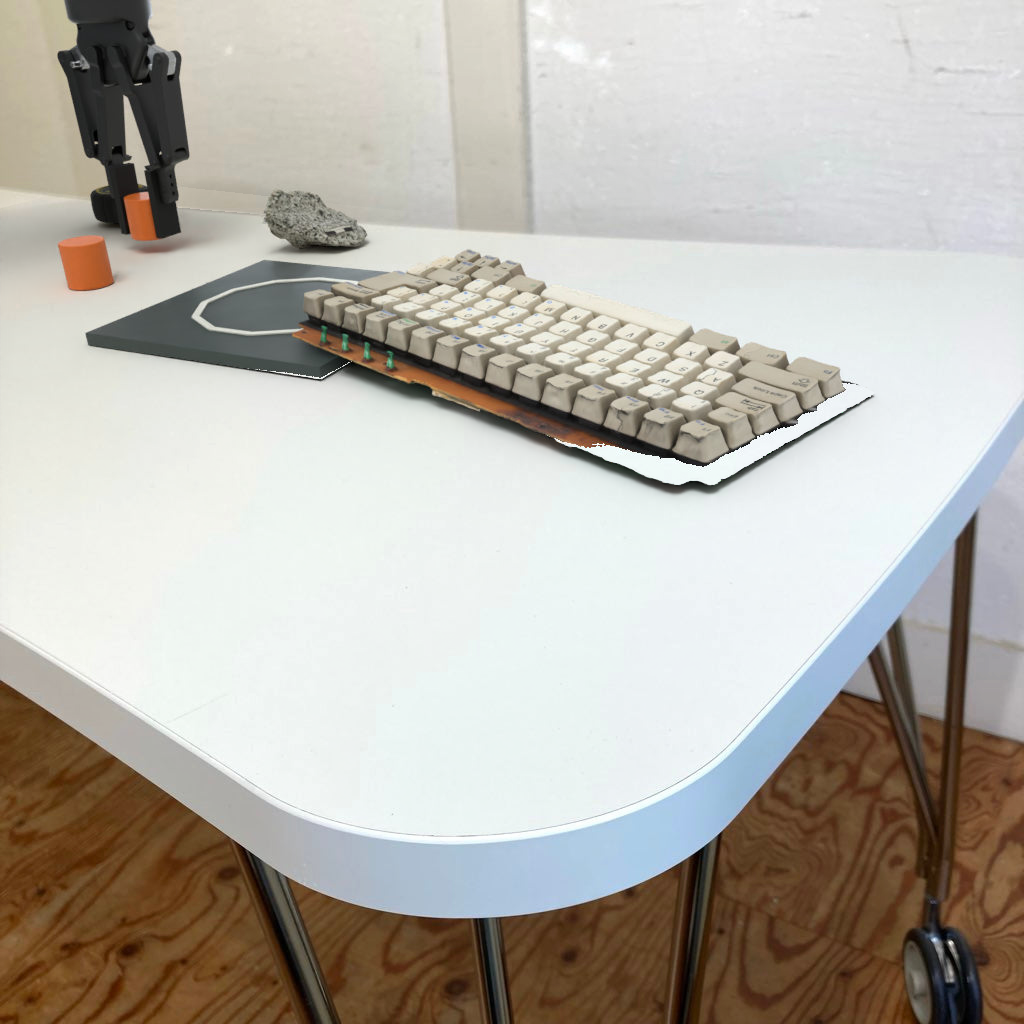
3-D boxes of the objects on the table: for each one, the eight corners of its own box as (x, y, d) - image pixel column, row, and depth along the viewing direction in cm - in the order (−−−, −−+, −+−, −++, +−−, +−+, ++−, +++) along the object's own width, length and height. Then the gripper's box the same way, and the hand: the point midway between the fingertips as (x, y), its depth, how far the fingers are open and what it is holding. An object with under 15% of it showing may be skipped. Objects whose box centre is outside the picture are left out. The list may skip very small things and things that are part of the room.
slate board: (87, 345, 82) (84, 331, 82) (265, 270, 99) (263, 258, 99) (321, 380, 73) (319, 365, 73) (472, 291, 90) (471, 278, 90)
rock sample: (344, 219, 99) (297, 149, 101) (288, 273, 101) (243, 204, 103) (398, 242, 108) (354, 178, 110) (346, 291, 111) (304, 227, 113)
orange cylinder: (58, 288, 97) (47, 244, 95) (91, 276, 100) (81, 234, 98) (90, 292, 95) (80, 247, 93) (123, 280, 98) (113, 237, 96)
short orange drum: (122, 239, 107) (114, 198, 105) (151, 229, 110) (143, 190, 108) (153, 242, 105) (145, 201, 103) (180, 233, 108) (173, 193, 106)
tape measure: (130, 231, 116) (122, 196, 114) (82, 227, 119) (74, 192, 117) (171, 217, 122) (165, 183, 120) (125, 213, 124) (118, 180, 122)
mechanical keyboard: (875, 395, 67) (882, 343, 65) (696, 505, 55) (700, 445, 53) (461, 281, 90) (459, 241, 88) (273, 341, 78) (267, 296, 76)
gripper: (203, -29, 96) (241, 231, 107) (66, -27, 103) (116, 218, 114) (144, -26, 90) (191, 249, 101) (3, -23, 97) (61, 234, 108)
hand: (151, 232), depth 107 cm, fingers closed on short orange drum, 4 cm apart
